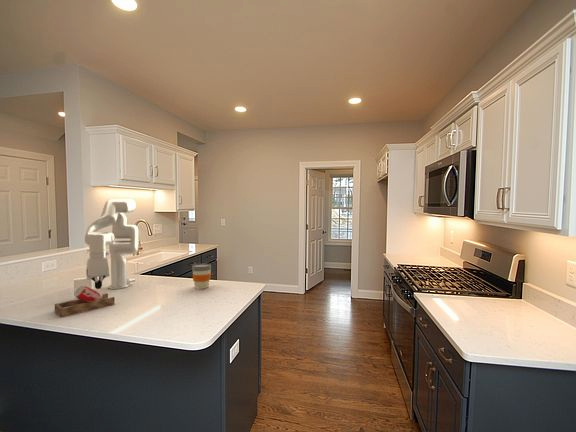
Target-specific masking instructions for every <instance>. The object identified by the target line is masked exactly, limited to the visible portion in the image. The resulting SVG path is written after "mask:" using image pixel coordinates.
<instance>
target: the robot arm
mask: <svg viewBox="0 0 576 432" xmlns="http://www.w3.org/2000/svg"><path fill="white" fill-rule="evenodd" d="M136 205H137V204H136V201H135V200H134V199H131V198H129V199H128V198H127V199H126V198H125V199H124V198H114V199H108V200H106V201H105V203H104V206H103V209H102V212H101V214H100V217H98V218H97V219H96V220H95V221H93V222H91V224H90V225H88V227H87V229H86V232H85V235H84V243H85V244H86V245H87V246H89V258H87V262H86V270H85V271H86V273H85V274H86V277H85V278H86V279H87V280H93V282H94V288H95V289H96V290H100V289H102V286H103V281H104V279H106V278H108V277H111V278H110V281H111V283H110V285H108V289H109V290H120V289H125V288H127V287H130V286H131V283H134V282H136V279H135V278H128V259H127V257H126V256H124V255H135V254H137V253H138V252H139V243H140V242H139V239H140V236H139V235H140V232H139V227H138V226H137V225H136V224H127V223H128V222H127V221H128V218H127V216H126V215H125V214H129V213H132V212H134V211H136V207H137V206H136ZM110 226H112V228H111V232H110V231H99V230H101V229H104V228H107V227H110ZM115 239H117V240H115ZM123 239H125V240H123ZM126 239H128V240H126ZM107 246H108V251H109V252H107ZM109 255H110V263H109V258H108V256H109Z"/></svg>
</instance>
